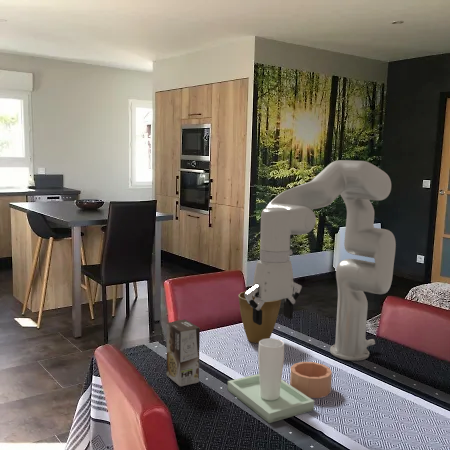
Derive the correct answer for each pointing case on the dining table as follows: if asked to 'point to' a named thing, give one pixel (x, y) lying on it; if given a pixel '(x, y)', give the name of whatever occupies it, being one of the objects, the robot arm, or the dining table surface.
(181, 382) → the coffee box
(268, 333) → the plant pot
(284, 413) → the tray
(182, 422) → the dining table surface
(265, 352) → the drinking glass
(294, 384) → the holder cup
